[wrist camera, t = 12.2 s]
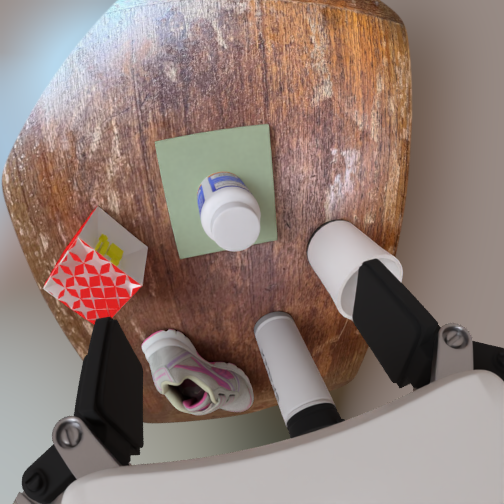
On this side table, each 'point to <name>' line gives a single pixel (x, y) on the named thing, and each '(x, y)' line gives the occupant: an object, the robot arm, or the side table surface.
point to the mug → (345, 260)
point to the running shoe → (194, 376)
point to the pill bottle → (228, 211)
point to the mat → (206, 163)
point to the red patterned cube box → (98, 268)
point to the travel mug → (294, 376)
